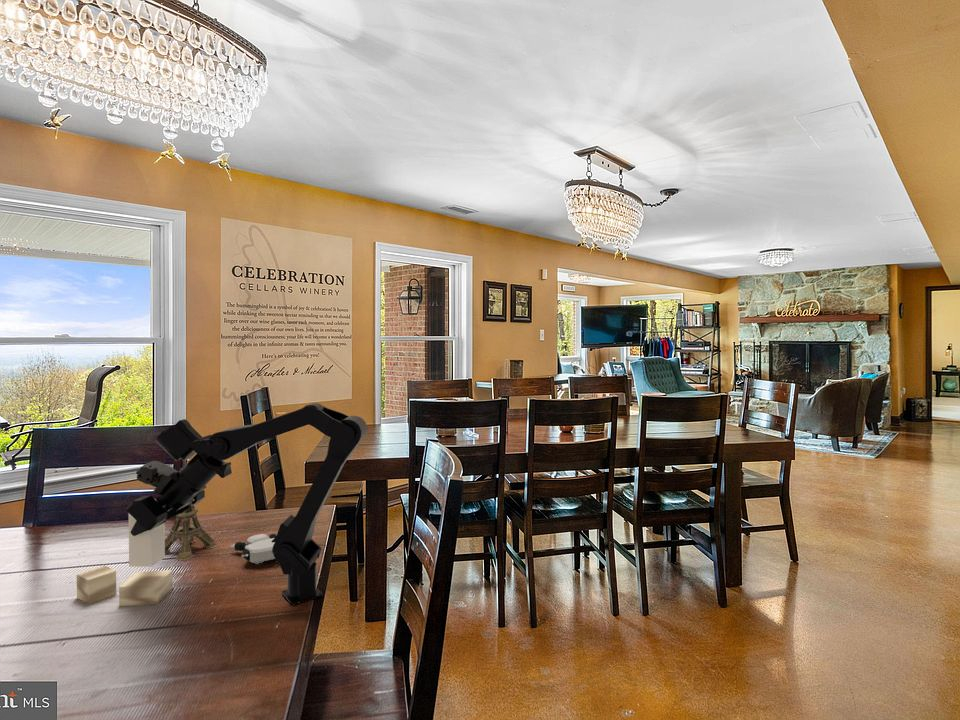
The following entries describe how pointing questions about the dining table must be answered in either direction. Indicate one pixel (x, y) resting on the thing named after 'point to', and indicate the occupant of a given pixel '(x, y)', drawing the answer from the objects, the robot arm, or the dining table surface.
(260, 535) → the robot toy
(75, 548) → the dining table surface
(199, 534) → the eiffel tower
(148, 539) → the pillar
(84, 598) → the cube
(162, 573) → the tan glossy block
